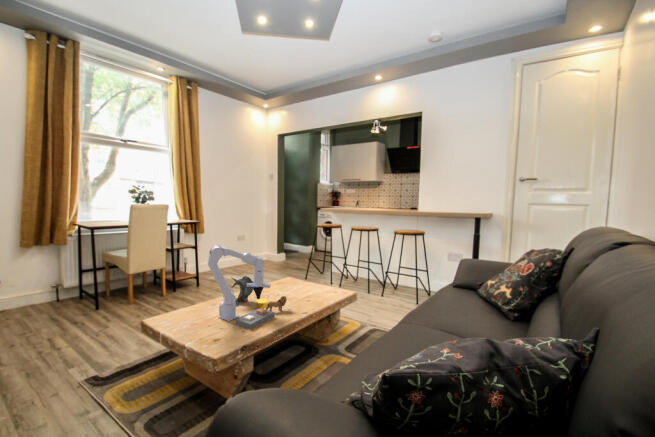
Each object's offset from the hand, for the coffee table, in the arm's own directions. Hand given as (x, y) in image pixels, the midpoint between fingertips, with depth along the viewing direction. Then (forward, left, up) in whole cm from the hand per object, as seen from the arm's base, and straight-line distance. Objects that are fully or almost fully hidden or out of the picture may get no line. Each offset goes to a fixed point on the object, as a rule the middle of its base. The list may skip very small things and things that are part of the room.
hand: (258, 298), depth 187 cm
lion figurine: (+7, +9, -10) cm, 15 cm away
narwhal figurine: (-22, +8, -10) cm, 25 cm away
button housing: (+6, -9, -9) cm, 14 cm away
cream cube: (+6, -14, -9) cm, 18 cm away
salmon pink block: (+6, -4, -9) cm, 11 cm away
